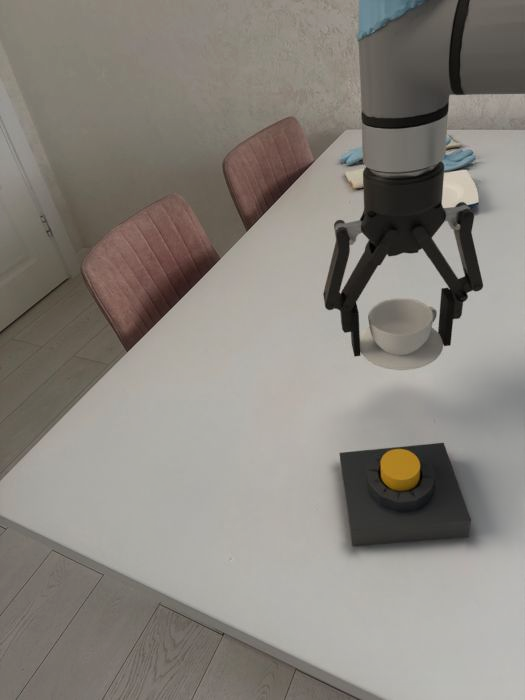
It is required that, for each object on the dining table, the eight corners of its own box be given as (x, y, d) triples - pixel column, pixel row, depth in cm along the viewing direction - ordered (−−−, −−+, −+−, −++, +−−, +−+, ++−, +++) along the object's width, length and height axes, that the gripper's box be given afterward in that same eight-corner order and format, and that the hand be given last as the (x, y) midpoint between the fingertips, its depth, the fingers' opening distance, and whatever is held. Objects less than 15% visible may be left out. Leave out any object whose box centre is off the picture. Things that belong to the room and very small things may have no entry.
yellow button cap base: (441, 459, 59) (444, 432, 56) (468, 537, 52) (473, 509, 49) (341, 469, 61) (338, 442, 58) (351, 546, 53) (349, 520, 50)
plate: (469, 178, 119) (470, 167, 117) (482, 216, 104) (484, 204, 102) (381, 186, 124) (381, 175, 122) (382, 223, 108) (381, 211, 107)
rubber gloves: (334, 156, 145) (332, 133, 141) (446, 136, 144) (448, 112, 140) (353, 191, 124) (352, 165, 120) (485, 167, 122) (488, 140, 118)
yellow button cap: (414, 458, 55) (415, 446, 53) (423, 489, 52) (424, 477, 50) (377, 462, 55) (377, 450, 54) (384, 493, 52) (384, 481, 51)
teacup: (389, 384, 56) (389, 353, 53) (343, 340, 64) (341, 310, 61) (461, 352, 59) (465, 320, 56) (408, 312, 66) (409, 282, 63)
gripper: (511, 132, 49) (484, 315, 63) (284, 167, 51) (306, 336, 65) (544, 157, 43) (506, 352, 57) (286, 196, 46) (310, 374, 59)
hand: (399, 344), depth 61 cm, fingers closed on teacup, 10 cm apart
